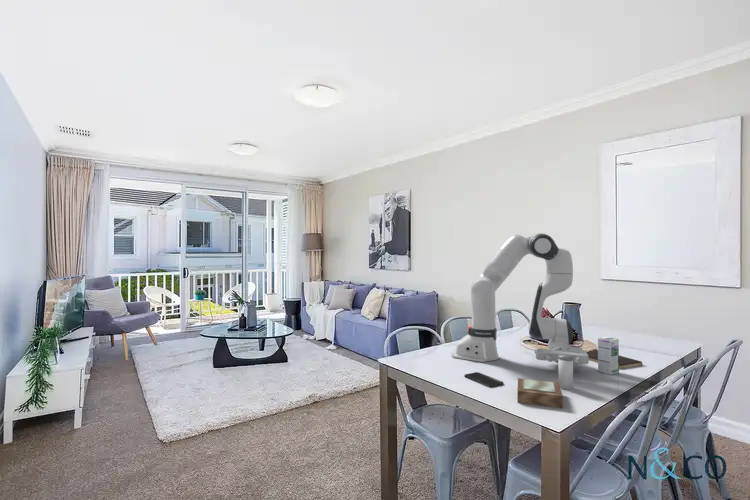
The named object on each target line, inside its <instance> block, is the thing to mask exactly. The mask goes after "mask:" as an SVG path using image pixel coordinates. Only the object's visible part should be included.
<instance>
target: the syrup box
mask: <svg viewBox="0 0 750 500" xmlns="http://www.w3.org/2000/svg"><path fill="white" fill-rule="evenodd" d="M619 341H620V340H619V339H618V338H616V337H610V336H603V337H598V338H597V350H598V363H597V372H600V373H602V374H606V375H610V376H611V375H613V374H614V375H615V374H619V373H620V369H619V356H620V352H619V350H620V349H619V348H620V346H619V344H620V342H619Z"/></svg>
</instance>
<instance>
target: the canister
mask: <svg viewBox="0 0 750 500" xmlns="http://www.w3.org/2000/svg"><path fill="white" fill-rule="evenodd" d="M558 359H559V360H558V363H557V364H558V366H557V367H558V378H557V380H558V383H559V385H560V388H561V390H565V391H566V390H568V391H570V390H572V391H573V389H574V363H573V356H572V355H568V354H559V355H558Z"/></svg>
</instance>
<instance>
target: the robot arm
mask: <svg viewBox="0 0 750 500" xmlns="http://www.w3.org/2000/svg"><path fill="white" fill-rule="evenodd" d="M527 255H532V256H533V257H536V258H539V259H543V260H544V261H545V263H546V273H545V274H546V275H545V277H544V280H543V281H542V282H541V283H539V284H538V286H537V289H536V293H535V298H534V302H533V306H532V307H533V308H532V311H531V317H530V320H529V323H528V326H527V327H528V334H529V335H530V336H531V337H532V338H534V340H549V341H548V343H547V348H544V347H542V348H540V347H539V348H536V350H534V354H535V359H536V360H539V361H547V362H555V363H557V364H558V360H559V359H558V355H559V354H568V355H572V356H573V365H578V364H582V365H588V364H589V363H590V362H589V361H590V360H589V357H588V354H587V353H586V352H585V351H586V350H583V347H581V346H577V345H571V343H572V342H573V339H574V331H573V326H572V323H570V321H569V320H568V319H567V318H558V317H557V318H552V317H551V318H550V317H542V311H543V307H544V303H545V301H546V299H547V298H548V297H550V296H553V295H557V294H560V293H563V292H565V291H568V290H569V289H570V287H572V284H573V278H574V266H573V265H574V264H573V257H572V253H571V252H570V251H569V250H567V249H564V248H559V247H558V245H557V244H556V242H555V240H554V239H553V238H552V237H551V236H550V235H548V234H546V233H536V234H534V235H531V236H529V237H525V236H523V235H521V234H513V235H512V236H510V237H509V238H508V239H507V240H506V241H505V242H504V243H502V245H501V246H500V248H499V249H498V250H497V251H496V252H495V254H494V255H493V256H492V257H491V259H490V260H489V261H488V263H487V264H486V266H484V268H483V270H482V271H481V272H480V273H479V275H478V276H477V277H476V279H475V280H473V282H472V284H471V285H470V299H471V301H470V302H471V304H470V305H471V325H468V326H467V334H466V335H464V336H463V337H461V339H459V340H458V342H457V343H456V345H455V349H453V350H452V351H451V353H450V356H451V357H452V358H453V359H455V358H456V359H461V360H467V361H473V362H480V363H484V362H489V361H491V362H492V361H496V360H499V359H500V356H499V353H498V347H497V335H498V331H497V327H496V291H497V290H498V289H499V288H500V287H501V286H502V284H503V283H504V282H505V281H506V279H507V278H508V277H509V276H510V275H511V274H512V272H513V271H515V270H514V269H515V268H516V267H517V266H518V265H519V263H520V262H521V261H522V260H523V259H524V257H526V256H527Z"/></svg>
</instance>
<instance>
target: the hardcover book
mask: <svg viewBox="0 0 750 500" xmlns="http://www.w3.org/2000/svg"><path fill="white" fill-rule="evenodd" d="M592 350H593V351H589V352H586V353H587V354H588V357H589V361H590V362H592V363H593V362H594V363H597V364H598V348H597V349H592ZM638 366H639V367H640V366H643V361H641V360H637V359H634V358H630V357H627V356H622V355H619V370H620V369H626V368H633V367H638Z"/></svg>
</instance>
